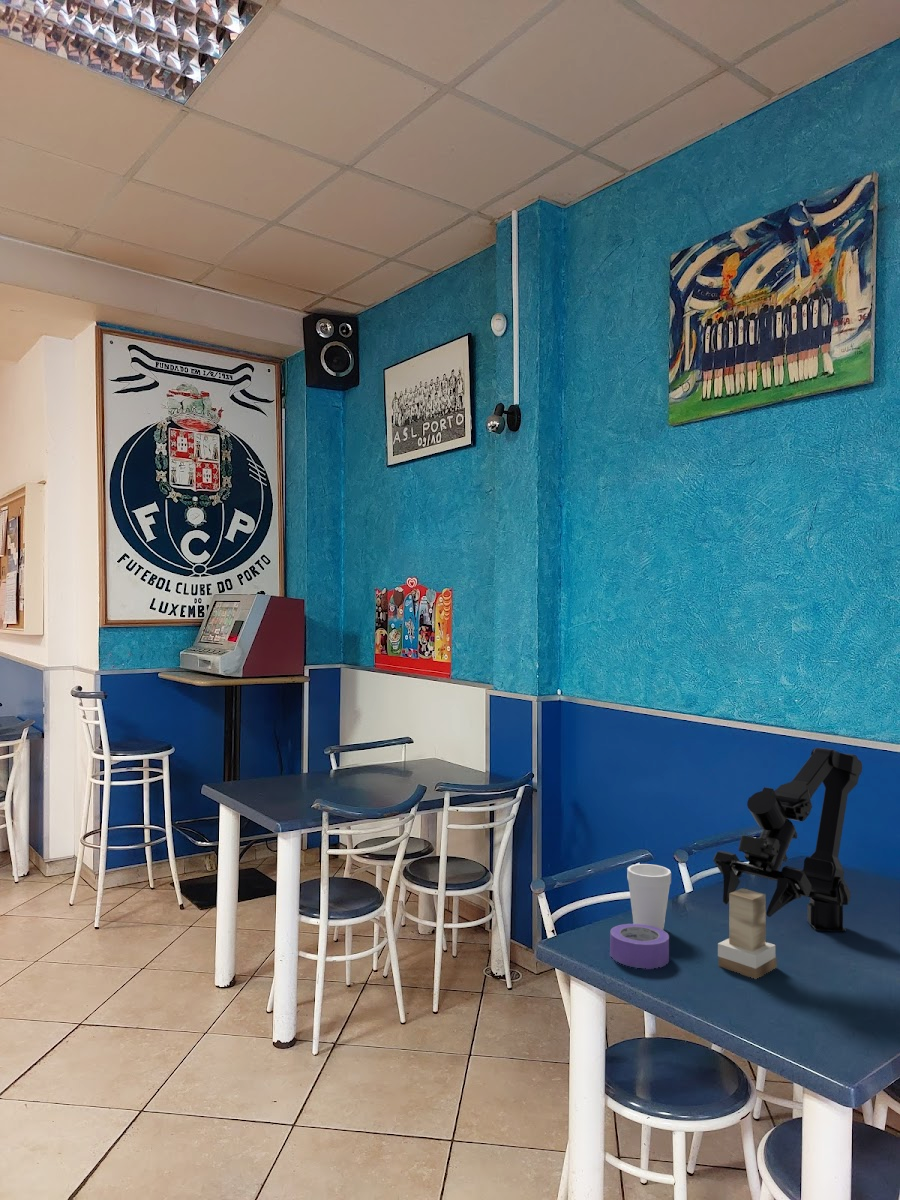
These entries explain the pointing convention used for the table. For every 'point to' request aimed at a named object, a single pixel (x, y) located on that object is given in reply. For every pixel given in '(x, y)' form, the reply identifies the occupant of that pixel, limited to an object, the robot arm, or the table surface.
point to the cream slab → (746, 954)
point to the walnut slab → (746, 969)
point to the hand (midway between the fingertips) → (745, 909)
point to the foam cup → (649, 893)
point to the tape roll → (639, 945)
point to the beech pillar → (747, 919)
